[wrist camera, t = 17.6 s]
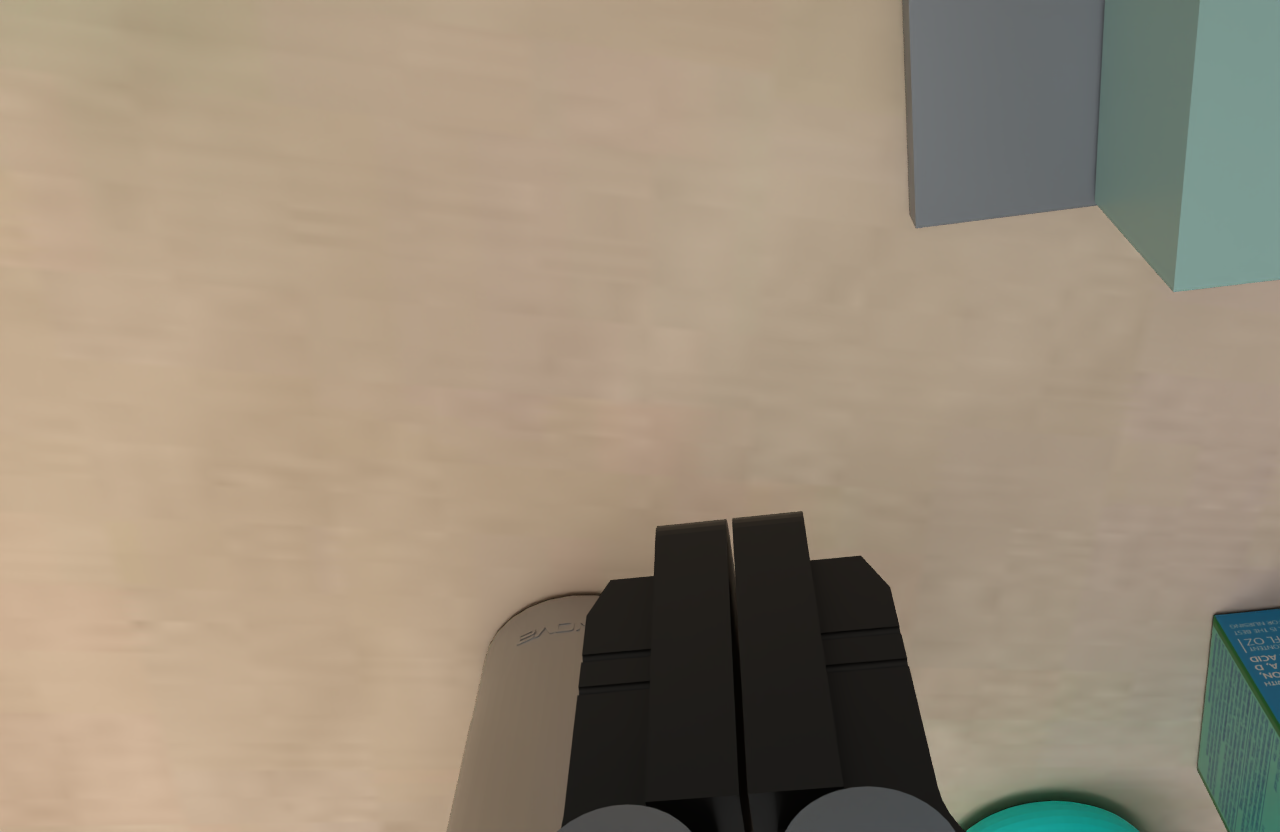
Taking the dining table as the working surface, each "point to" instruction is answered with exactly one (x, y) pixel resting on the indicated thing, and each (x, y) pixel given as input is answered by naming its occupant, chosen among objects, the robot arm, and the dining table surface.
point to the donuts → (1053, 819)
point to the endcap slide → (1193, 137)
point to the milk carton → (1243, 721)
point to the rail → (1001, 106)
